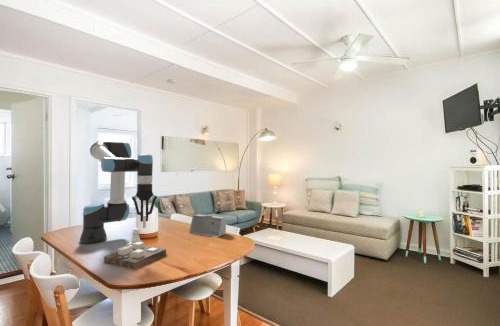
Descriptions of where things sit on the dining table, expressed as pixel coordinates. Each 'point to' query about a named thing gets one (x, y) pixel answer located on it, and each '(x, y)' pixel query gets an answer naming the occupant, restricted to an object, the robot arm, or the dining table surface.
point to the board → (134, 262)
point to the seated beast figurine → (134, 237)
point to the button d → (152, 250)
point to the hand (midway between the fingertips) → (144, 227)
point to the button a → (123, 251)
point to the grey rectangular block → (208, 225)
